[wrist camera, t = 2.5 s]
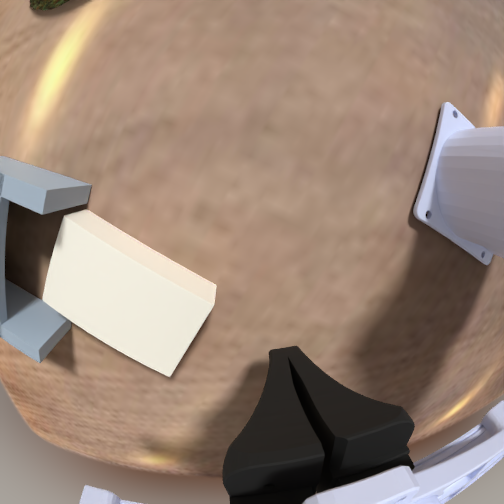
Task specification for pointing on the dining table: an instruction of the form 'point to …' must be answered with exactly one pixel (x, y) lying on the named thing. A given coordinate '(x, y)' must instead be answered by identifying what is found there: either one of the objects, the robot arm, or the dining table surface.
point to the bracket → (3, 291)
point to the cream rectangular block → (126, 292)
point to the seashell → (46, 4)
